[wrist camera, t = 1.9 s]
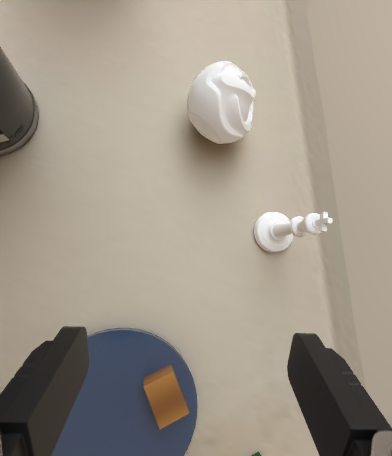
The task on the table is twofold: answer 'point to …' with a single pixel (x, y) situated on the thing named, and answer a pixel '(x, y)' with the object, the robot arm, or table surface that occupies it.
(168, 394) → the orange brown rectangular block
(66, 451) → the plate
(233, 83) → the white round lump
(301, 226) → the chess piece
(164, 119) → the table surface
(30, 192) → the table surface
